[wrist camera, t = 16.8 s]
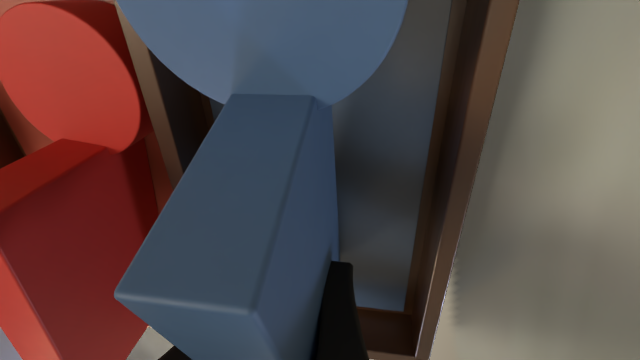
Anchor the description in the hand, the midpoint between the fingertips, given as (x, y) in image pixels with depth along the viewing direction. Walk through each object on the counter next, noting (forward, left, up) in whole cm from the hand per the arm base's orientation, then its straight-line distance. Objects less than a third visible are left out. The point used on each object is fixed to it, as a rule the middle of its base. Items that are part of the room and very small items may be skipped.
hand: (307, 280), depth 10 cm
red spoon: (+2, +8, -3) cm, 8 cm away
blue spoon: (+4, 0, -1) cm, 5 cm away
